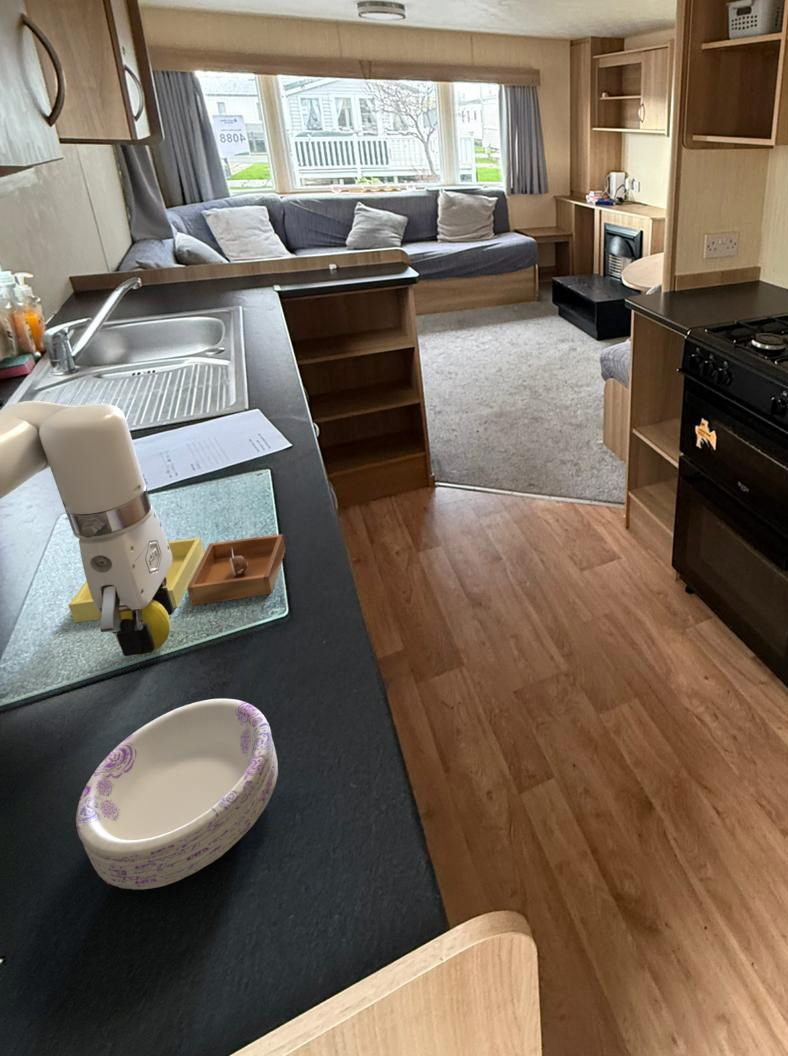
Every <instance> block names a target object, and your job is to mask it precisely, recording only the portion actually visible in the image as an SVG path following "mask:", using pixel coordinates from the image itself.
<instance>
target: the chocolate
mask: <svg viewBox="0 0 788 1056" xmlns="http://www.w3.org/2000/svg"><path fill="white" fill-rule="evenodd" d="M232 556H233V549H232ZM230 563H231V568H232V571H233V574H234V576H239V575H241V574H242V573H244V571H245V570H246V569H247V565H248V563H247V561H246V559H245V558H243V557H242V556H233V557H231V558H230Z"/></svg>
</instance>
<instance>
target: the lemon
mask: <svg viewBox="0 0 788 1056" xmlns="http://www.w3.org/2000/svg"><path fill="white" fill-rule="evenodd" d="M142 617H143V623H148V626H149V629H150V632H151V635H152V639H153V642H154V645H155V648H154V650H153V652H151V653H145V654H138V655H137V656H146V655H148V654H149V655H150V654H153V653H154V652H156V651H157V650H158V649H160V648H161V647H163V645H164V644H165V643H166V641H167V640H168V638H169V636H170V633H171V627H172V626H171V619H170V615H168V613H167V611H166V609H165V608H164V607H163V606H162V605H161V604H160V603H159V602H157V601H155V600H153V599H152V600H151V601H150V603H149V604H148V605H147V606H146V607H145V608H143V609H142ZM121 619H133V618H132V610H130V611H123V612H121ZM114 635H115V639H116V642H117V644H118V645H119V646H120V644H119V641H118V638H117V635H116V634H114Z"/></svg>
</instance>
